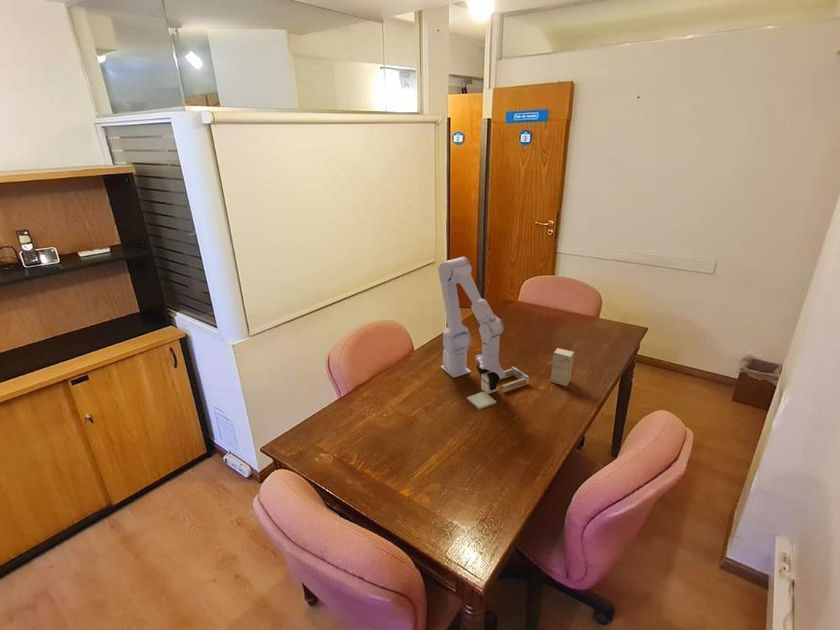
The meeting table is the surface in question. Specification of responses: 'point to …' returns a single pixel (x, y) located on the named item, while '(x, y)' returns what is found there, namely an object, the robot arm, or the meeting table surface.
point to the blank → (486, 383)
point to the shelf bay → (518, 383)
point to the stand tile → (481, 400)
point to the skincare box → (562, 366)
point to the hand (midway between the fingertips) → (489, 386)
